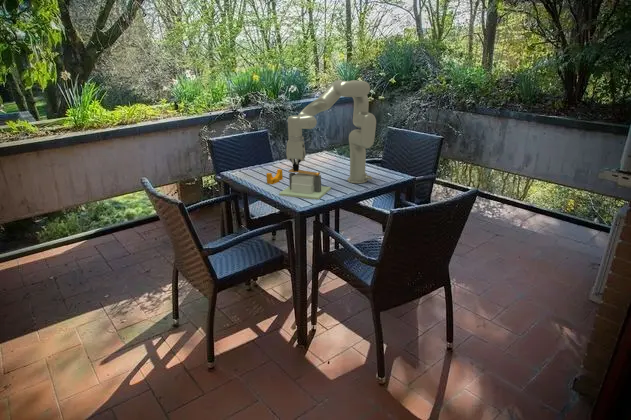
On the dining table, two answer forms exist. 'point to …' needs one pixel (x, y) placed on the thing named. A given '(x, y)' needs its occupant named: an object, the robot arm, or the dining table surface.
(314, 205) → the dining table surface
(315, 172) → the strap
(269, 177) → the pipe clamp
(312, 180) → the board
